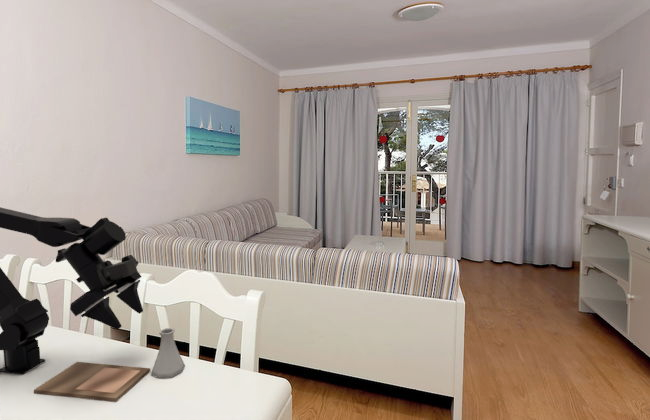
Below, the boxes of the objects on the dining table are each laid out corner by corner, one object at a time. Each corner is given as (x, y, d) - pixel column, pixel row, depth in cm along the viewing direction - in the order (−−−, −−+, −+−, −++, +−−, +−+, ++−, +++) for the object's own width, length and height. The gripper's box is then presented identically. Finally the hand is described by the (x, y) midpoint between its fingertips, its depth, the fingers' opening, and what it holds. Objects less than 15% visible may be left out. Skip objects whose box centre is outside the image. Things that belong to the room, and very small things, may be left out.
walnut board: (34, 393, 82) (33, 389, 82) (77, 364, 94) (77, 361, 94) (116, 401, 79) (115, 397, 79) (150, 371, 91) (150, 367, 91)
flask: (173, 381, 87) (171, 338, 86) (144, 377, 89) (143, 335, 88) (190, 365, 94) (189, 325, 93) (163, 361, 96) (162, 323, 95)
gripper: (89, 255, 79) (135, 316, 80) (137, 238, 97) (175, 288, 98) (49, 285, 80) (95, 345, 81) (104, 263, 98) (141, 312, 99)
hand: (131, 319), depth 90 cm, fingers open, 9 cm apart
